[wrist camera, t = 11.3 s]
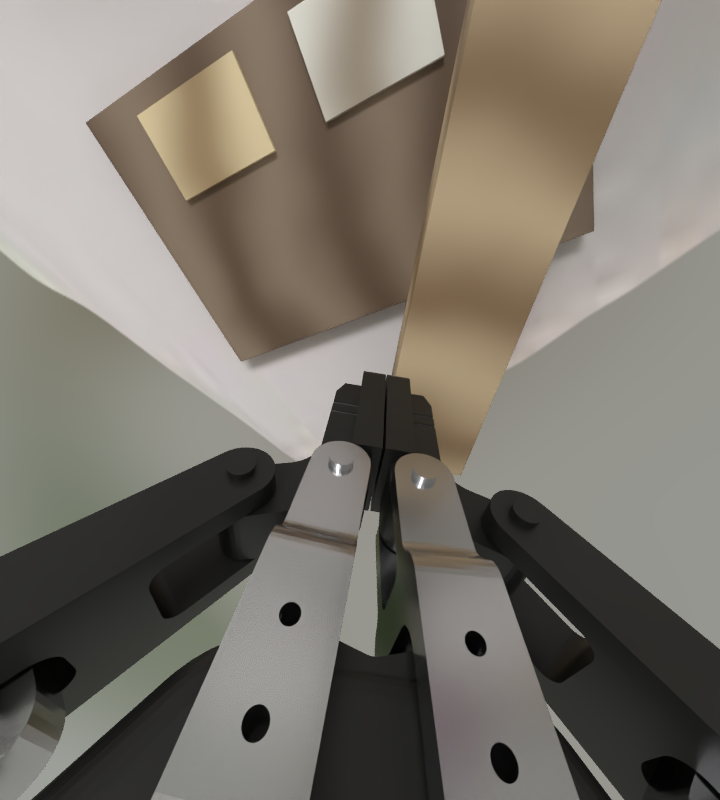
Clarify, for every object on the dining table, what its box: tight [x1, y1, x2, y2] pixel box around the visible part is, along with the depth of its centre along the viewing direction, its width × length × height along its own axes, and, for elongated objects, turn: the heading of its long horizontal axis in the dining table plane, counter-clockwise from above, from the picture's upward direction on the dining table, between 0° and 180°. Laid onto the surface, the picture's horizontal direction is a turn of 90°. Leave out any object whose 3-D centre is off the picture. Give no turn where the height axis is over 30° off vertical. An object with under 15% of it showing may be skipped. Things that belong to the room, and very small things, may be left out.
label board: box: [86, 0, 594, 361], centre depth 16 cm, size 24×15×6 cm, turn 112°
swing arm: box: [392, 0, 662, 475], centre depth 13 cm, size 24×5×2 cm, turn 173°
